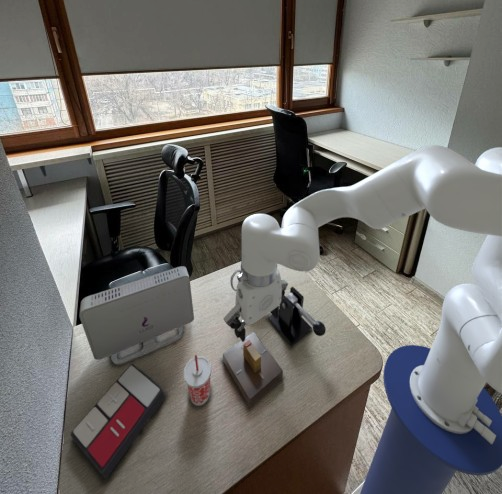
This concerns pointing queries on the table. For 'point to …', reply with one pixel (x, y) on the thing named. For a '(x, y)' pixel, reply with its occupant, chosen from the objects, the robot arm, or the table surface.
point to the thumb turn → (252, 356)
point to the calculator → (117, 419)
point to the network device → (137, 314)
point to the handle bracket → (290, 319)
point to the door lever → (308, 316)
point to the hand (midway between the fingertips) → (257, 324)
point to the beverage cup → (198, 379)
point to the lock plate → (244, 375)
